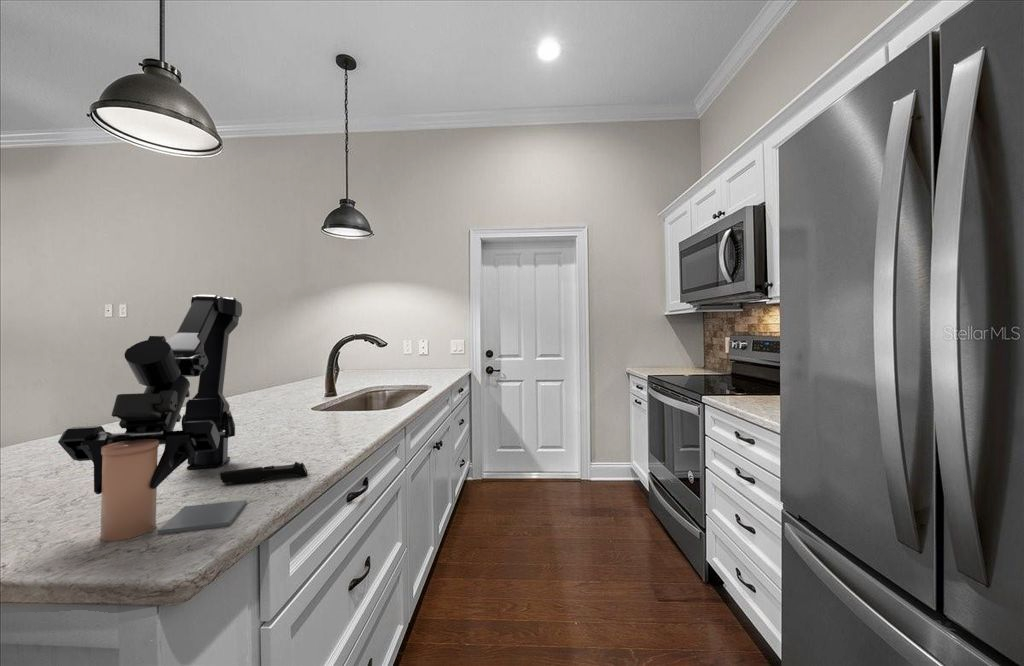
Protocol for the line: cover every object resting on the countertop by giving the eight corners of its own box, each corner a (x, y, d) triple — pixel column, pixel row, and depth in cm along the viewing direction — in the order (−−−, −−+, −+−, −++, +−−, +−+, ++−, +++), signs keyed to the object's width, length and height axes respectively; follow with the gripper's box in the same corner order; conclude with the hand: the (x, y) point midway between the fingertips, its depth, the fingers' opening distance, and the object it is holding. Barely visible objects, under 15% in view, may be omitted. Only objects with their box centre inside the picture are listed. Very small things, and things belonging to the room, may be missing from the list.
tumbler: (165, 519, 64) (166, 437, 64) (144, 538, 58) (146, 448, 58) (114, 524, 62) (116, 440, 62) (87, 544, 56) (90, 451, 56)
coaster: (246, 503, 70) (246, 499, 71) (229, 525, 62) (229, 521, 62) (184, 509, 68) (184, 506, 68) (157, 534, 59) (157, 530, 59)
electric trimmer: (221, 484, 81) (221, 468, 81) (307, 472, 88) (307, 458, 88) (217, 490, 78) (217, 474, 78) (306, 478, 84) (306, 463, 84)
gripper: (68, 374, 61) (6, 469, 50) (216, 372, 67) (188, 456, 57) (98, 417, 68) (49, 508, 57) (229, 411, 75) (206, 491, 64)
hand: (125, 490), depth 59 cm, fingers closed on tumbler, 6 cm apart
